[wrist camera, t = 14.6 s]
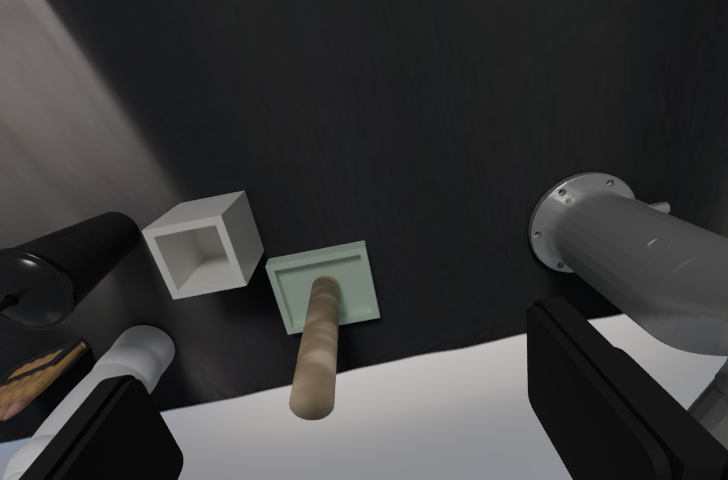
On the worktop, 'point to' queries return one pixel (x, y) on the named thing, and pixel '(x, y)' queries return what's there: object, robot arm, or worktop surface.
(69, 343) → the ammunition clip
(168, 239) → the holder
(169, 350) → the water bottle
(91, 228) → the drinking cup
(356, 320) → the tray
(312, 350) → the dowel
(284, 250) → the worktop surface
